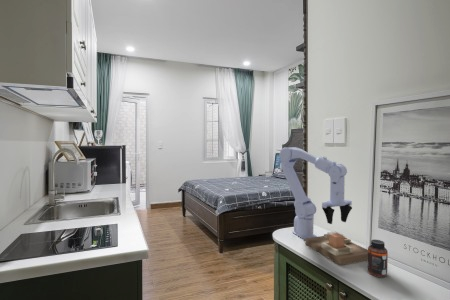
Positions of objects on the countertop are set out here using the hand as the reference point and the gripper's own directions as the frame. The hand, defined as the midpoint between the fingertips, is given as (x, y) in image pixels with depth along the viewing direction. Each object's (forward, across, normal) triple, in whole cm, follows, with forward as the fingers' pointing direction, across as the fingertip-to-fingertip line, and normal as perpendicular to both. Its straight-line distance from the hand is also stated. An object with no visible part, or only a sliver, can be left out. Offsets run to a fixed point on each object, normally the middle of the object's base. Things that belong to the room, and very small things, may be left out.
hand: (336, 222), depth 116 cm
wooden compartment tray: (+10, -4, -6) cm, 12 cm away
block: (+7, -2, -1) cm, 8 cm away
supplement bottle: (+10, -5, -25) cm, 27 cm away
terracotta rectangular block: (+7, -8, -9) cm, 15 cm away
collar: (+7, -8, -10) cm, 15 cm away
